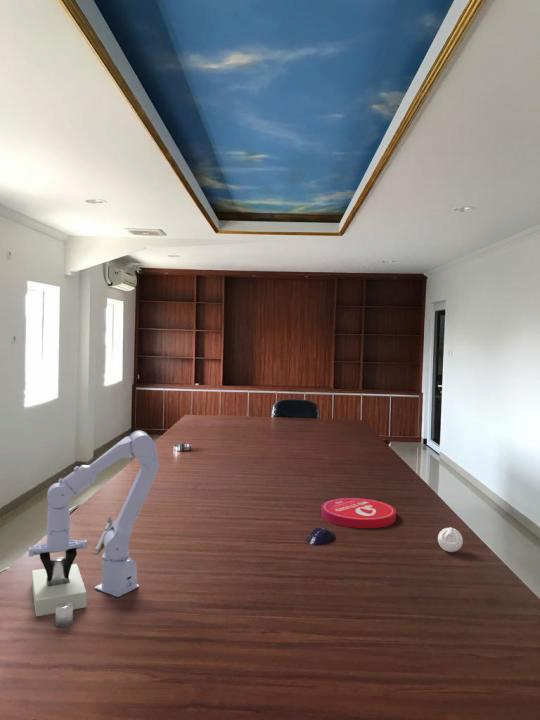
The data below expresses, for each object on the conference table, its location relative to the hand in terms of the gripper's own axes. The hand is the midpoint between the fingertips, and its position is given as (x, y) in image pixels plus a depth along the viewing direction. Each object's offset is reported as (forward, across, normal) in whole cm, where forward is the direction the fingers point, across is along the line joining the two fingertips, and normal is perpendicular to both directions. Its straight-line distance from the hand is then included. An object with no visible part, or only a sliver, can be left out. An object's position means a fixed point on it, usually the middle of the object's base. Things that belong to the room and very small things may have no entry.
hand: (58, 578), depth 147 cm
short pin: (+5, 0, +16) cm, 17 cm away
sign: (+5, -117, -26) cm, 120 cm away
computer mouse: (+5, -89, -10) cm, 89 cm away
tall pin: (+3, 0, 0) cm, 3 cm away
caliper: (+5, -18, -36) cm, 40 cm away
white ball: (+5, -124, +18) cm, 125 cm away
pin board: (+5, 0, 0) cm, 5 cm away
